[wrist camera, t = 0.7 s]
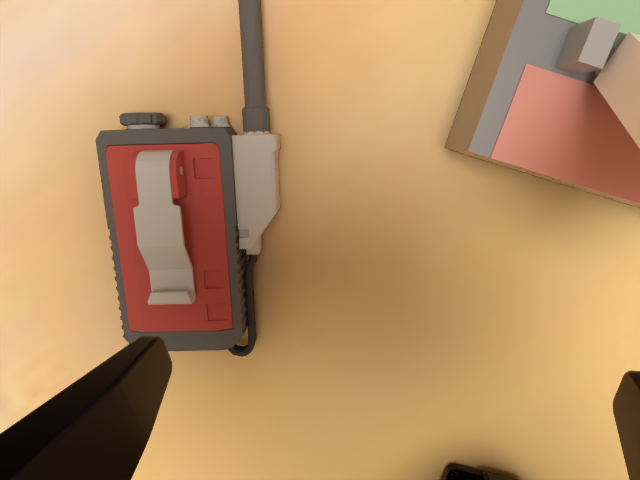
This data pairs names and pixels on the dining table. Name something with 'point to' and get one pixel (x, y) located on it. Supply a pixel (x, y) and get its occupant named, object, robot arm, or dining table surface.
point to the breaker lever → (623, 82)
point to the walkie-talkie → (192, 214)
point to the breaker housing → (551, 96)
